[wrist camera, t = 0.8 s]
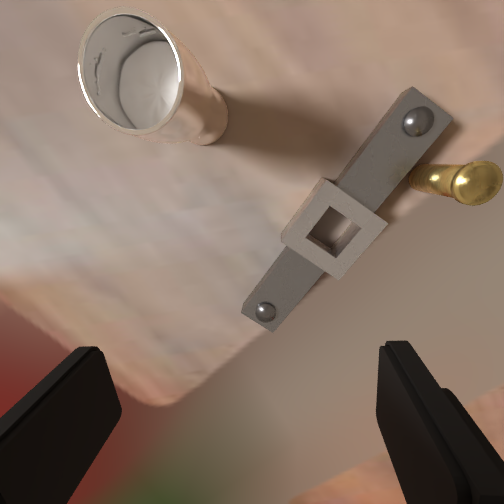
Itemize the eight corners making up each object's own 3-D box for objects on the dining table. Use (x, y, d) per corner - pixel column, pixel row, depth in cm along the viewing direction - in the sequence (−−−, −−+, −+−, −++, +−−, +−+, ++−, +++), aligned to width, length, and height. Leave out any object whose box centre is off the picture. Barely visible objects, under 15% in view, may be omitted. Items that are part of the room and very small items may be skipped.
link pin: (421, 154, 29) (480, 151, 20) (445, 172, 29) (513, 177, 21) (398, 181, 30) (445, 189, 21) (422, 199, 30) (477, 213, 22)
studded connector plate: (390, 83, 27) (405, 72, 24) (450, 130, 28) (474, 125, 24) (234, 297, 37) (229, 311, 33) (282, 328, 37) (282, 344, 34)
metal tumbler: (160, 98, 30) (50, 41, 16) (215, 67, 28) (149, -28, 14) (188, 159, 32) (113, 157, 17) (242, 133, 30) (207, 107, 16)
